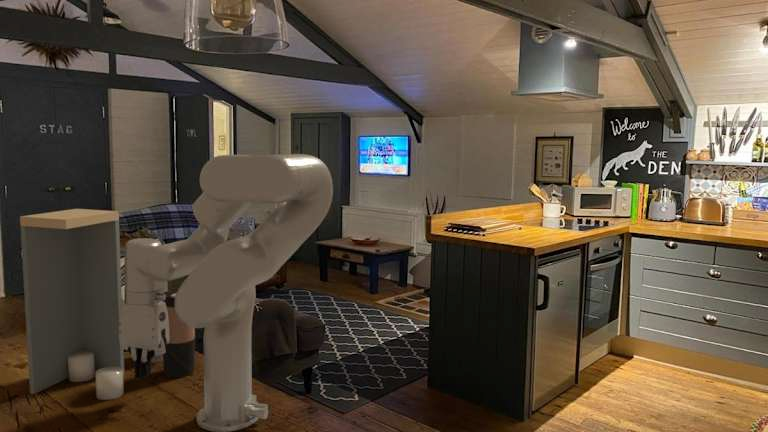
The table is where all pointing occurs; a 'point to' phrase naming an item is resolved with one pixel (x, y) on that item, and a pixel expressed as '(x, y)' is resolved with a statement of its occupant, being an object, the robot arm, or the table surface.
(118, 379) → the cream smooth rounded cylinder
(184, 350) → the travel mug
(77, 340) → the counter
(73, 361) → the cream rounded knob
